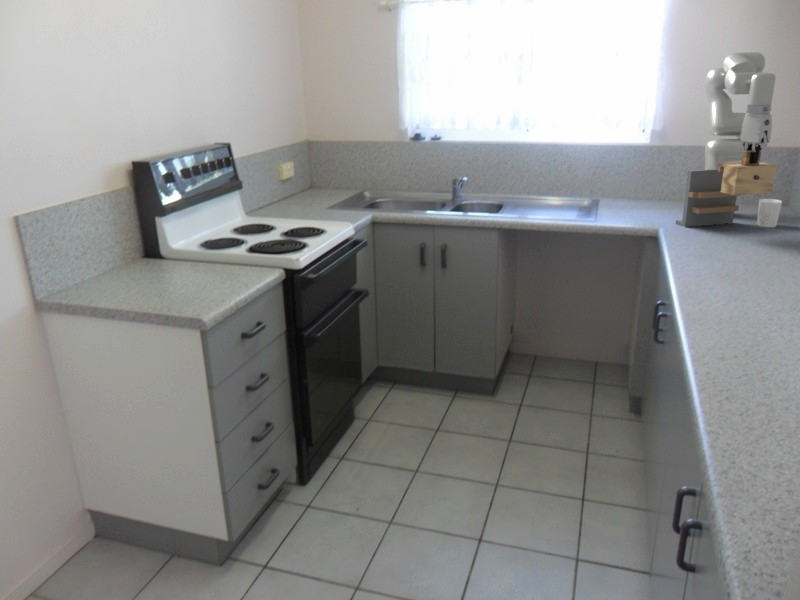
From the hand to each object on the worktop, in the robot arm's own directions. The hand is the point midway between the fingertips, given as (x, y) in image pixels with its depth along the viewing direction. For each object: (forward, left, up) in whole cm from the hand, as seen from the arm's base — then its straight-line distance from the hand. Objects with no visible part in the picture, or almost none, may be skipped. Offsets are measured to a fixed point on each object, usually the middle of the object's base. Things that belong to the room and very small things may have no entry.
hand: (750, 162), depth 239 cm
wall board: (0, -18, -27) cm, 33 cm away
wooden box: (0, -2, -11) cm, 11 cm away
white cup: (-20, -9, -27) cm, 35 cm away
